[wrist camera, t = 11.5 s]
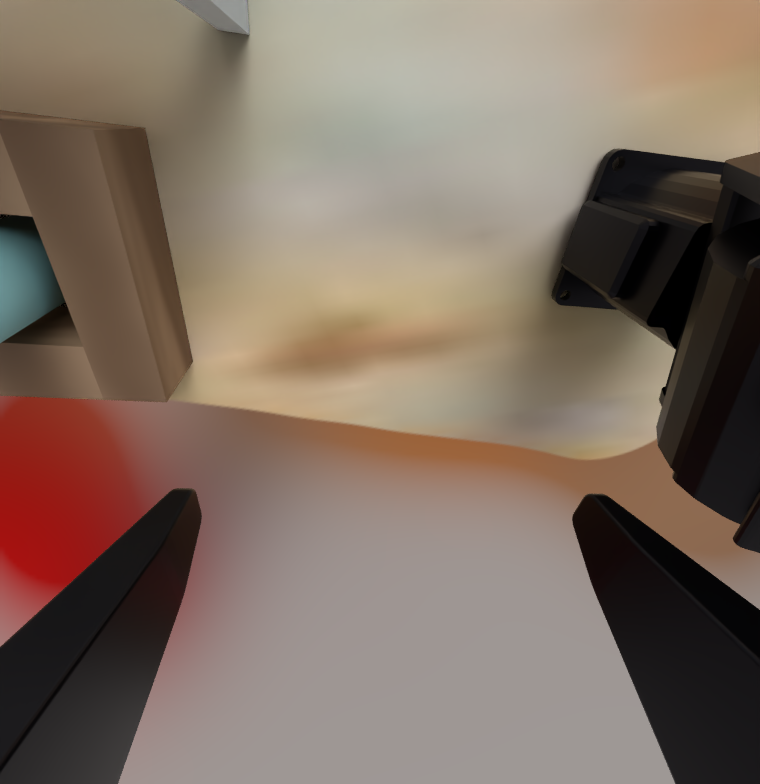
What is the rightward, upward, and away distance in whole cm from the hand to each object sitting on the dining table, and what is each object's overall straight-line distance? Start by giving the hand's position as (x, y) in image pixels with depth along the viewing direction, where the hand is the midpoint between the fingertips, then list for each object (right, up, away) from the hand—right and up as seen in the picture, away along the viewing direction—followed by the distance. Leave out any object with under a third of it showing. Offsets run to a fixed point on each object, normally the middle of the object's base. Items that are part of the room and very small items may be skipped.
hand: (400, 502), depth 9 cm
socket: (-15, +8, +7) cm, 18 cm away
